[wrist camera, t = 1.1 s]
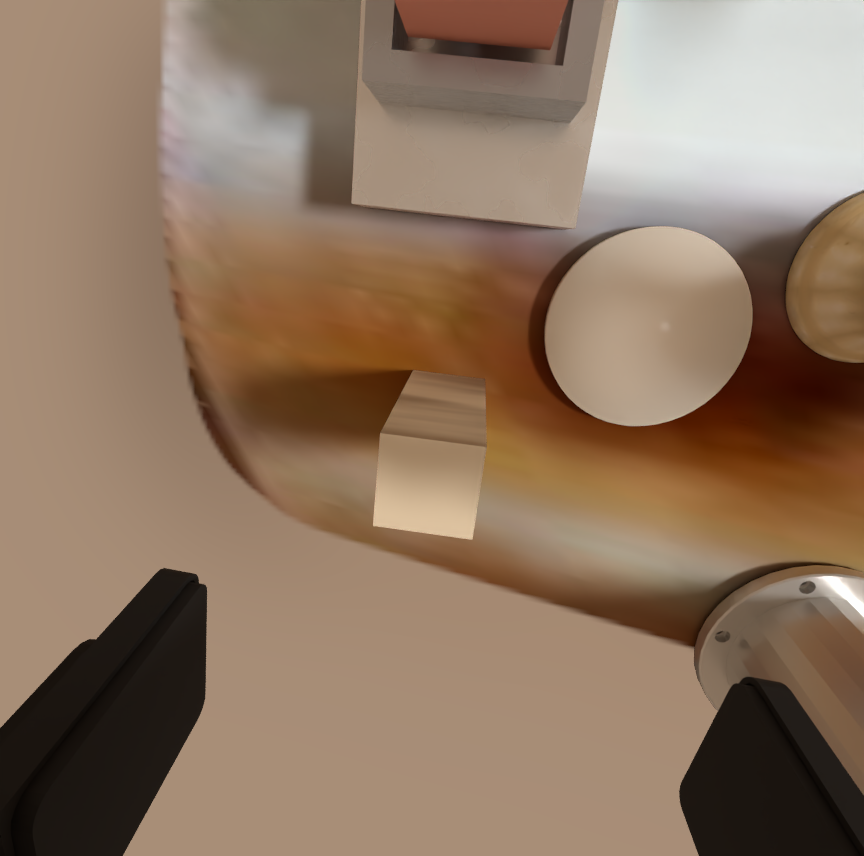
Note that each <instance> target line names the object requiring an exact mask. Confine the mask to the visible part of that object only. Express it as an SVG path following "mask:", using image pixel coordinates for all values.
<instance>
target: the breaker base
mask: <svg viewBox="0 0 864 856" xmlns="http://www.w3.org/2000/svg"><path fill="white" fill-rule="evenodd" d="M617 4H618V0H568V2H567V5H566V8H565V11H564V13H563V16H562V19H561V22H560V24H559V27H558V30H557V33H556V36H555V38H554V41H553V44H552V47H551V49H550V50H541V49H531V48H520V47H510V46H499V45H489V44H478V43H468V42H457V41H447V40H436V39H426V38H415V37H408V35H407V33H406V30H405V27H404V25H403V22H402V19H401V16H400V14H399V11H398V8H397V6H396V3H395V0H361V13H360V34H359V55H358V76H357V97H356V118H355V138H354V159H353V180H352V201H351V204H355V205H359V206H363V207H368V208H377V209H386V210H395V211H404V212H413V213H422V214H431V215H439V216H448V217H457V218H466V219H475V220H484V221H493V222H502V223H511V224H520V225H529V226H538V227H547V228H556V229H575V227H576V222H577V216H578V211H579V206H580V200H581V195H582V190H583V184H584V179H585V174H586V169H587V163H588V158H589V153H590V147H591V142H592V137H593V131H594V126H595V121H596V116H597V110H598V105H599V100H600V94H601V89H602V84H603V78H604V73H605V68H606V63H607V57H608V52H609V47H610V41H611V36H612V31H613V25H614V20H615V15H616V10H617Z"/></svg>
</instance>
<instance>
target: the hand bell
mask: <svg viewBox="0 0 864 856" xmlns="http://www.w3.org/2000/svg"><path fill="white" fill-rule="evenodd" d="M786 309H787V314H788V317H789V321H790V323H791V326H792V328H793V330H794V331H795V333H796V334H797V336H798V337H799V338H800V339H801V340H802V342H803V343H804V344H805V345H807V346H808V347H809V348H810V349H812V350H813V351H814V352H816V353H818V354H820V355H822V356H825V357H827V358H829V359H831V360H835V361H841V362H850V363H864V193H862V194H860V195H857V196H856V197H854V198H852V199H850V200H848V201H846V202H845V203H843V204H842V205H840V206H839V207H837V208H836V209H834V210H833V211H832V212H831V213H830V214H828V215H827V216H826V217H825V218H824V219H823V220H822V221H821V222H820V223H819V224H818V225H817V226H816V227H815V228H814V229H813V230H812V231H811V232H810V234H809V235H808V236H807V238H806V239H805V240H804V242H803V244H802V245H801V247H800V248H799V250H798V252H797V254H796V256H795V258H794V260H793V263H792V266H791V268H790V271H789V274H788V279H787V284H786Z"/></svg>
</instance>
